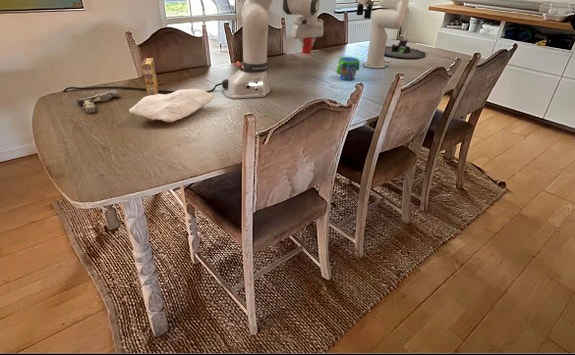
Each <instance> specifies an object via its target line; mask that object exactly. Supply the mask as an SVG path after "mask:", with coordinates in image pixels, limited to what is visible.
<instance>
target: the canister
mask: <svg viewBox="0 0 575 355" xmlns="http://www.w3.org/2000/svg"><path fill="white" fill-rule="evenodd" d="M303 43H305V46H303V47H302V46H301V53H302V54H305V55H309V54H312V46H313V45H312V37H311V38H304V40H303Z"/></svg>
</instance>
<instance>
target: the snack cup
mask: <svg viewBox="0 0 575 355" xmlns="http://www.w3.org/2000/svg"><path fill="white" fill-rule="evenodd" d="M338 60H339V62H338V65H337V68H336V74H337V75H340V76H339V77H340V79H342V80H345V81H352V80H354V79H355V77H356V73H357V71H359V70H360V62H361V61H360V59H359V58H356V57H350V56H349V57H348V56H343V57H340V58H338Z"/></svg>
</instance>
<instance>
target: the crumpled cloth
mask: <svg viewBox="0 0 575 355" xmlns="http://www.w3.org/2000/svg"><path fill="white" fill-rule="evenodd" d="M174 91H175V92H173V93H167V94H163V93H158V94H156V95H150V96H148V95H146V96H144V97H142V98H141V99H140V100H139V101H138V102H137V103H136V104H134V105H133V106H132V107H131V108H129V114H130V115H135V116H140V117H145V118H146V119H149V120H152V121H155V120H158V121H163V122H166V123H174V122H176V121H178V120H181V119H183V118H185V117H188V116H190V115H192V114H193V113H195V112H196V111H197V110H199V109H200V108H202V107H204V106H206V105H207V104H210V102H211V101H212V100H213V99H214V98H213V97H214V96H213V94H212V93H211V92H206V91H207V90H203V89H201V88H187V89H186V88H185V89H184V88H183V89H177V90H174Z"/></svg>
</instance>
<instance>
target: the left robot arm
mask: <svg viewBox="0 0 575 355" xmlns="http://www.w3.org/2000/svg"><path fill="white" fill-rule="evenodd" d="M272 3H273V0H244V2H243V5H242V9H241V20H242V23H241V24H242V59H243V60H242V61H236V62H235V65H236V66H237V67H239V69H237V71H236V72H235V73H234V74H232V75H231V76H230V77H229V78H225V79H223V80H222V81H221V82H220V83H217V84H215V85H214V87H213V88H212V89H209V90H205V91H206V92H208V93H211V92H213V91H215V90H216V88H217V87H219V86H222V89H223V91H222V92H223V94H224V95H225V96H226V97H228V98H230V99H233V100H236V99H237V100H238V99H239V100H240V99H253V98H254V99H255V98H264V97H266V95H268V94H269V93H270V92H271V88H270V84H269V78H268V76H269V75H268V72H269V61H268V38H269V14H268V12H269V10H270V7H271V5H272ZM281 5H282V11H283V12H284V13H285V14H286V15H287V16H288V15H290V16H291V15H292V16H293V15H296V16H297V17H295V18H293V20H292V21H293V24H292V28H291V37H292V38H293V39H294V40H299V42H300V47H301V48H302V47H303V46H305V43H303V40H304V38H311V37H312V46H314V43H315V41H316V39H317V38H321V37H323V36H324V20H323V19H322V18H318V16H319V15H318V14H319V10H320V0H282V4H281ZM96 89H99V90H100V89H124V90H126V89H128V90H139V91H147V88H145V87H137V86H136V87H135V86H119V85H117V86H116V85H115V86H113V85H109V86H108V85H107V86H106V85H105V86H87V87H79V86H69V87H65V88H64V89H63V90H62V93H65V92H67V91H68V90H96ZM158 91H159V92H158V93H167V94H171V93H173V92H175V91H176V90H165V89H164V90H163V89H158Z"/></svg>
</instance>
